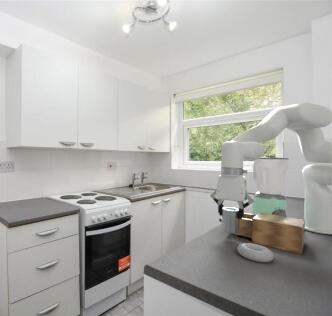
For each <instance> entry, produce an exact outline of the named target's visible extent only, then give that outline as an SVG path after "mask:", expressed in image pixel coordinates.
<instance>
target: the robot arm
mask: <svg viewBox="0 0 332 316" xmlns="http://www.w3.org/2000/svg"><path fill="white" fill-rule="evenodd" d="M331 123H332V110H331V109H330V108H329V107H326V106H324V105H319V104H316V103H310V102H298V103H292V104H287V105H282V106H278V107H276V108H274V109H273V110H272V111H270V113H269V114H268V115H266V116H265V117H264V119H262V120H261V121H260V122H259V123H258V124H257V125H254V126H252V127H250V128H249V129H246V130H245V131H242V132H241V133H239V134H237V135H236V136H234V137H233V138H232V139H231V140H230V141H224V142H223V143H222V144H221V158H220V162H221V163H220V174H219V175H218V178H217V182H216V190H214V191H213V192H212V193H211V194H210V198H211V199H212V200H213V202H214V203H216V205H217V207H218V208H217V213H218V215H219V216H221V217H222V208H223V207H225V206H224V202H225V201H231V202H237V205H238V207H239V208H237V209H238V219H242V217H244V213H245V209H246V208H247V207H249V206H250V205H253V202H254V199H253V196H251V195H249V193H248V184H247V178H246V176H245V174H248V170H247V169H244V161H254V160H257V159H260V158H261V157H264V155H265V152H266V150H265V146H264V145H263V144H262V143H266V142H268V141H271V140H274V139H276V138H277V137H278V136H279V135H281V133H282V132H283V131H284V130H286V129H288V130H290V131H291V132H293V133H294V134H295V135H296V136H297V139H298V142H299V145H300V150H301V154H302V157H303V160H304V161H306V162H308V163H312V164H308V165H306V166H304V167H303V169H302V179H303V184H304V185H303V186H304V202H303V203H304V206H303V209H304V210H303V220H305V231H308V232H312V233H318V234H323V235H332V190H331V188H330V187H329V186H332V141H327V140H326V138H325V134H324V131H323V129H322V128H326V127H328V126H330V125H331ZM244 201H246V202H244Z"/></svg>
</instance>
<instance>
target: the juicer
mask: <svg viewBox="0 0 332 316" xmlns="http://www.w3.org/2000/svg"><path fill="white" fill-rule="evenodd" d="M289 159H290V158H288V157H280V156H279V157H278V156H275V155H270V156H269V155H266V156H262V157H261V158H260V159H257V160H253V165H252V178H253V181H254V182H255V183H256V186H257V192H255V193H254V194H253V196H252V198H253V199H254V202H253V203H252V213H251V214H253V215H257V214H259V213H266V214H272V215H279V216H285V217H288V215H287V214H288V211H287V209H288V201H287V198H286V196H285V195H284V194H282V192H283V188H284V183H285V178H286V174H287V171H288V166H289Z"/></svg>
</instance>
